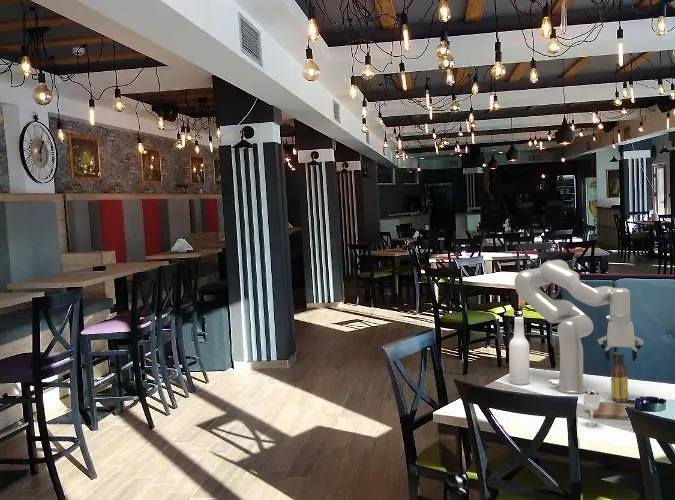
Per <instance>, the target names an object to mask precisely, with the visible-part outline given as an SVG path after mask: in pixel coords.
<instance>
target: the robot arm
mask: <svg viewBox="0 0 675 500" xmlns="http://www.w3.org/2000/svg"><path fill="white" fill-rule="evenodd" d="M551 283H553V284H555V285H557V286H559V287H561V288H563V289H565V290H567V291H568V293H569V294H570V295H571V296H572V297H573V298H574V299H576V300H578V301H579V302H581V303H583V304H585V305H587V306H590V307H595V308H596V307H600V306H604V305H609V311H610V312H609V315H605V316H606V317H605V318H606V320H609V321H608V324H607V331H606V335H604V336H602V337H600V338H598V339H597V342H598V344H599V346H600V347H601V348H602V350H604V357H605V359H606V360H607V361H610V349H611V348H631V349H632V350H631V359H632V361H633V362H636V359H637V356H638V355H637V353H638V351H639V350H640V349H641V348H642V346H643V344H644V342H645V341H644V339H642V338H640V337H638V336H636V335H635V328H634V324H633V322H632V321H631V292H630V290H629V289H628V288H625V287H613V286H608V285H603V286H598V287H597V286H596V287H591V286H590V285H588V284H585V283H584V282H581V280H580V275H579V273H578V272H576V271H574V270H573V269H570V266H569V264H568V263H567V262H566V261H565V260H562V259H553V260H547V261H545V262H543V263H542V264H541V266H540V267H537V268H530V269H526V270H525V269H524V270H522V271H519V272H518V273H517V274H516V275H515V278H514V289H515V290H516V293H517V295H518V297H520V298H521V300H522V301H524V302H525V303H527V304H528V305H529V306H530V307H531V308H532V309H533V310H534V311H535V312H537V313H538V314H539V315H540V316H541V317H542V318H543V319H544V320H546V321H547V323H550V324H558V325H557V337H558V342H559V377H558V378H556V379H552V378H550V379H548V384H549V385H553V386H554V385H556V386H555V388H556V390H557V391H558V392H560V393H564V394H565V393H566V394H573V395H575V394H585V392H587V391H588V387H587V386H585V385H584V347H583V344H582V340H581V338H584V337H588V336H589V335H591V334H592V332H593V330H594V323H593V321H592V320H591V318H590V317H589V316H588V315H587V314H586V313H585V312H583V310H581V309H580V308H579V307H577V305H575V304H574V303H572V302H571V301H569V300H566V299H559V300H554V299H553V298H551V297H550V296H549V295H547V294H546V293H545V291H544V292H543V290H540V289H538V288H540V287H544V286H546V285H549V284H551ZM604 341H606V345H605V344H604V343H603V342H604ZM635 341H637V342H638V344H637V345H635V344H636V342H635Z"/></svg>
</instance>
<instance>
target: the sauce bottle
mask: <svg viewBox="0 0 675 500" xmlns="http://www.w3.org/2000/svg"><path fill="white" fill-rule="evenodd" d="M612 356H613V357H612V358H613V364H612V366H611V367H610V373H611V374H610V383H611V384H610V386H611V387H610V388H611V389H610V390H611V398H612V401H614V403H628V401H629V383H628V379H629V378H628V369H627V367H626V366H625V361H624V357H625V354H624V352H621V351H615V352H613V353H612Z"/></svg>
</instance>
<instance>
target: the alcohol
mask: <svg viewBox="0 0 675 500" xmlns="http://www.w3.org/2000/svg"><path fill="white" fill-rule="evenodd" d="M508 348H509V350H508V354H509V355H508V357H509V358H508V359H509V360H508V361H509V365H508V367H509V372H508V373H509V379H508V381H509V382H510V384H512V385H516V386H526V385H529V383H530V380H531V379H530V343H529V341H528V340H527V338H526V336H525V327H524V317H521V316H515V317H514V327H513V336H512V338H511V339H510V341H509V345H508Z"/></svg>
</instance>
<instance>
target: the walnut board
mask: <svg viewBox="0 0 675 500" xmlns="http://www.w3.org/2000/svg"><path fill="white" fill-rule="evenodd" d="M635 404H636V403H628V402H607V401H600V407H599V408H598V409H596V410H593V417H592V418H593V419H606V420H619V421H621V420H623V421H629V420H628V417H627V414H626V411H625V407H626V406H628V407H633V408H634V407H635ZM587 410H588V415H589V418H590V419H591V413H590V412H591V410H589V409H587Z"/></svg>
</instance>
